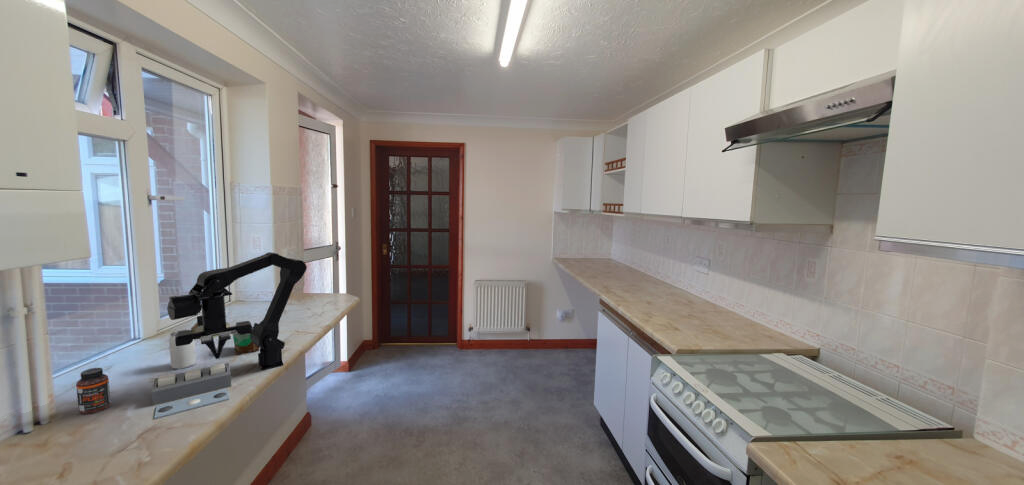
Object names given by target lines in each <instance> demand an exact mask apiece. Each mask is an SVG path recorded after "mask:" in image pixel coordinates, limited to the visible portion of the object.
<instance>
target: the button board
mask: <svg viewBox="0 0 1024 485" xmlns="http://www.w3.org/2000/svg"><path fill="white" fill-rule="evenodd" d="M231 373H232V372H231V369H230V363H229V362H226V363H225V372H223V373H219V374H214V375H211V370H210V366H207V367H203V368H201V378H196V379H192V380H187V381H185V371H184V372H179V373H178V372H177V373H174V374H175V379H176V380H175V383H174V384H169V385H165V386H160V387H158V378H159V377H156V378H154V380H153V384H152V389H151V392H150V393H151V402H152V404H151V405H152V406H156V405H157V406H158V405H159V404H160V405H162V404H166V403H170V402H172V401H173V402H174V401H178V400H182V399H186V398H190V397H194V396H198V395H203V394H207V393H211V392H215V391H219V390H223V389H227V388H229V387H232V374H231Z"/></svg>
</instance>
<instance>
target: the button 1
mask: <svg viewBox="0 0 1024 485" xmlns="http://www.w3.org/2000/svg"><path fill="white" fill-rule="evenodd" d="M175 374H176V373H172V374H171V373H170V374H166V375H161V376H158V377H157V378H158V387H160V386H165V385H169V384H174V383H175V380H176V379H175Z"/></svg>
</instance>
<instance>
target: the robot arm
mask: <svg viewBox="0 0 1024 485" xmlns="http://www.w3.org/2000/svg"><path fill="white" fill-rule="evenodd" d="M271 266H275V267H277V268H280V270H279V283H278V285H277V288H276V290H275V293H274V294H273V297H272V300H271V302H270V304H269V306H268V309H267V311H266V313H265V315H264V318H263V320H261V321H260V322H259V323H257V322H254V324H253V325H252V323H251V321H250V320H244V321H239V322H236V323H235V324H236V326H233V325H232V326H233V327H232V326H229V327H227V326H226V323H227V317H226V302H225V297H227V296H232V295H233V293H232V292H231V291H229V290H228V289H227V287H229V286H231V284H232V283H234V282H235V281H237V280H239V279H241V278H244V277H247V276H248V275H251V274H254V273H256V272H258V271H261V270H264V269H266V268H269V267H271ZM307 268H308V266H307V264H306V263H305V262H304V260H300V259H296V258H288V257H286V256H283V255H280V254H279V253H277V252H270V251H269V252H266V253H264V254H262V255H259V256H257V257H254V258H252V259H249V260H246V261H243V262H240V263H238V264H235V265H232V266H230V267H223V268H216V269H211V270H206V271H203V272H202V273H200V274H198V277H197V279H196V282H195V284H194V285H193V286H192V288H191V289H190V290H189V292H188V294H184V295H183V294H182V295H173V296H169V301H168V305H167V307H166V308H167V314H168V317H169V319H170V320H171V321H174V320H175V321H176V320H180V319H184V318H185V319H186V318H189V317H194V316H196V320H197V321H196V323H197V325H198V326H203V332H197V333H193V330H191V329H187V330H188V331H182V332H178V333H177V334H176V337H175V343H176V346H182V345H188V344H190V343H191V342H192V341H193V339H194V340H200V344H201V345H205V346H207V347H208V349H209V350H210V351H211V353H212V355H213V357H214V358H215V359H216V360H217V359H218V360H219V359H220V356H222V355H221V354H222V351H223V348H224V346H225V345H226V343H227V341H229V340H231V339H232V336H231V335H232V334H231V333H233V332H238V334H240V335H243V334H249V333H250V334H251V337H250V339H251V341H252V343H254V344H256V345H257V347H259V352H258V353H257V361H258V362H257V363H258V366H259V367H260V368H261V370H263V371H264V370H267V369H271V368H272V369H273V368H276V367H280V366H283V365H284V362H283V354H282V352H283V349H284V348H285V345H286V342H284V341H283V340H281V339H279V338H278V337H279V333H280V327H279V326H280V324H279V323H280V321H281V318H282V315H283V313H284V310H285V309H286V305H287V304H288V301H289V299H290V296H291V294H292V292H293V290H294V288H295V285H296V284H297V283H298V282H299V281H300V280H301V279H302V278H303V277H304V275H305V273H306V271H307ZM198 314H201V315H199V316H197V315H198ZM252 327H253V330H252ZM215 335H218V336H217V337H218V339H217V348H216V344H215V340H214V337H213V336H215ZM198 338H200V339H198Z"/></svg>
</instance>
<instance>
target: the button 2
mask: <svg viewBox="0 0 1024 485" xmlns="http://www.w3.org/2000/svg"><path fill="white" fill-rule="evenodd" d="M225 364H226V363H219V364H214V365H210V366H209V367H210V370H211V375H214V374H219V373H223V372H225Z"/></svg>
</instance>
